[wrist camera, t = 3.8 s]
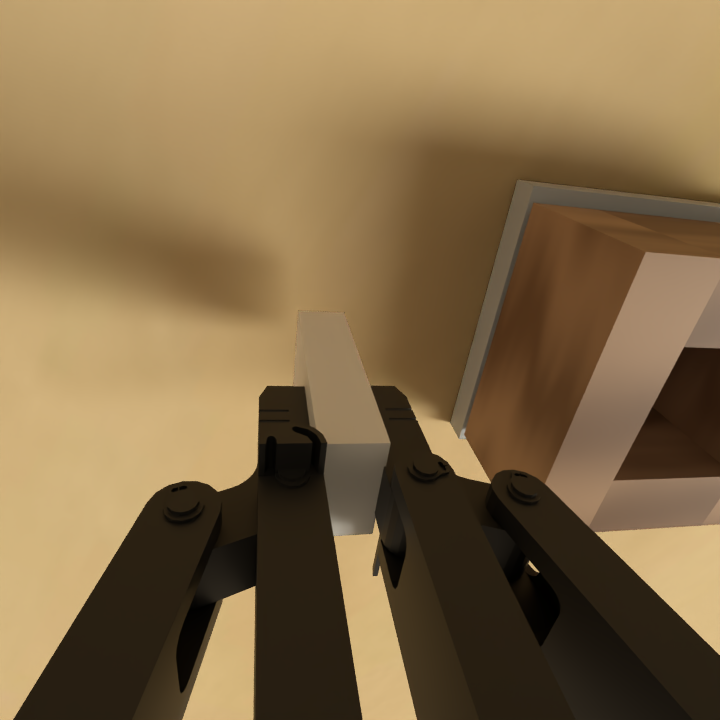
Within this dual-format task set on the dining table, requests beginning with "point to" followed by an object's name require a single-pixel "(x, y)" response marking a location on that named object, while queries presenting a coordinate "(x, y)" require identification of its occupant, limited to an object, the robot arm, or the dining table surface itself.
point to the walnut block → (609, 368)
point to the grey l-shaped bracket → (509, 251)
